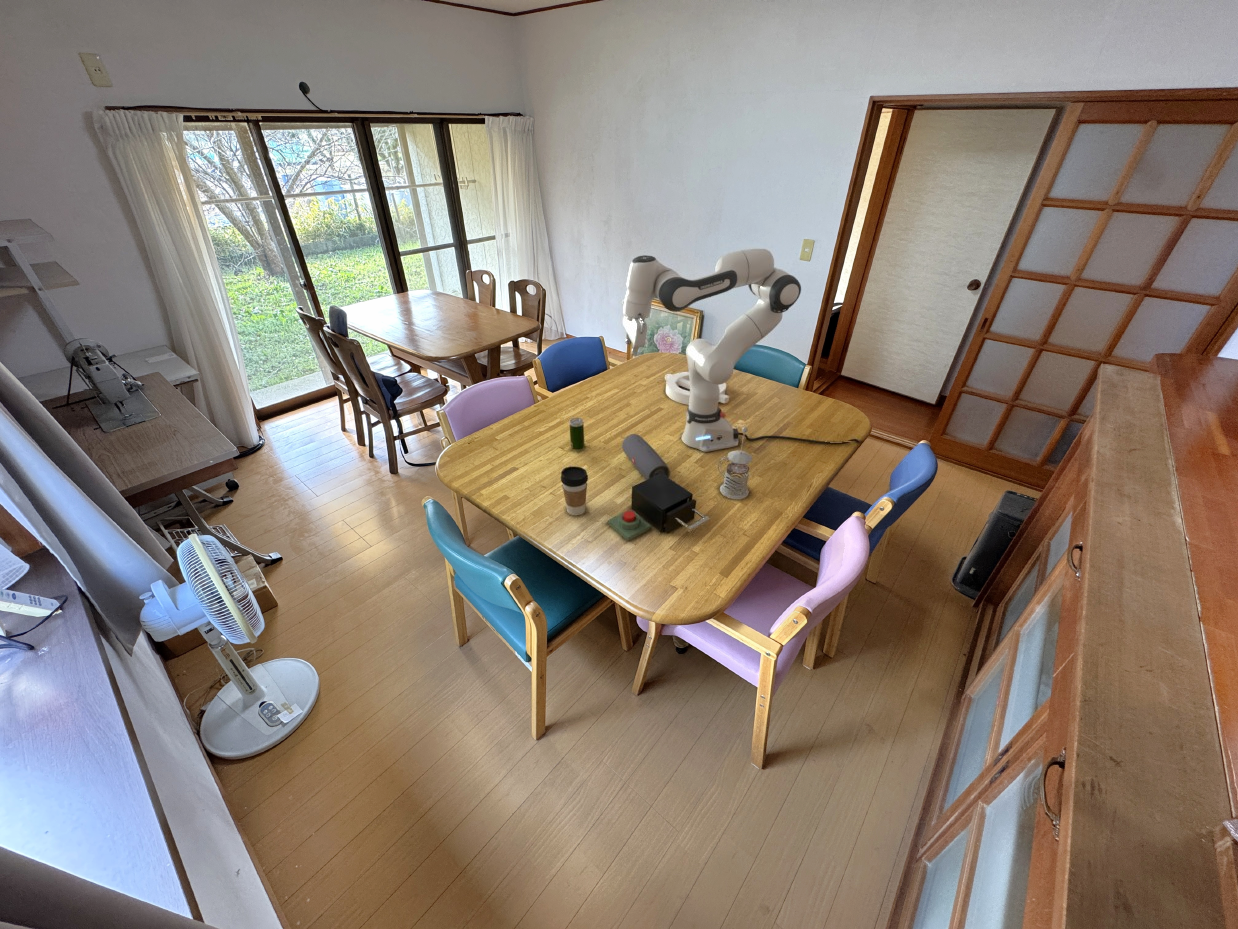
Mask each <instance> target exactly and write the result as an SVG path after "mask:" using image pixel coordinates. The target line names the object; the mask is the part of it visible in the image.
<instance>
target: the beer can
mask: <svg viewBox="0 0 1238 929" xmlns="http://www.w3.org/2000/svg"><path fill="white" fill-rule="evenodd" d="M568 426H569V441H570V448H571V451H575V452H580V451H583V450H584V448H585V425H584V420H583V419H582V418H581V417H573V418H570V419H569V425H568Z"/></svg>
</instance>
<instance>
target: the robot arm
mask: <svg viewBox="0 0 1238 929" xmlns="http://www.w3.org/2000/svg"><path fill="white" fill-rule="evenodd" d="M714 267H715V268H714V273H712V274H708V275H705V276H702V277H699V278H695V279H688V278H685V277H683V276H682V275H681V274H679V273H678V272H677V271H675V270H674V269H672V268H670V267H668V266H666V265H664V264H663V263H662V262H660V261H659V260H658V258H656V257H655V256H653V255H645V254H643V255H639V256H636V257H634V258H633V259H632V261H631V262H630V264H629V269H628V274H627V279H626V294H625V296H624V299H622V303H621V304H622V305H621V306H622V320H621V321H622V327H623V329H624V330H625V341H624V342H625V344H626V345H629V346H630V345H631V344H632V348H631V351H630V355H631V356H633V357H637V356H638V351H639V350H640V348H644V347H645V345H646V342H647V332H648V325H647V322H646V319H648V318H650V315H651V309H652V303H653V301H654V300H655V299H656V300H657V299H658V300H659V301H660V303H661V304H662V306H663V307H664V308H665V309H666V310H667V311H670V312H671V313H672V312H673V313H677V312H681V311H684V310H686V309H687V308H689V307H690V306H692V305H694V304H695V303H697V302H699V301H702V300H705V299H708V298H712V297H715V296H718V295H721V294H724V293H726V292H729V291H731V290H732V289H737V288H741V287H745V286H748V288H749V291H750V292H751V293H752V294H753V295H754V296H756V297H758V300H757V302H756V303H755V304H754V306H753V307H751V308H750V309H748V310H747V311H746V312H745V313H743V314H742V315H741V316H739V317H738V318H737V319H735V320H734V321H733V322H732V323H730V324H729V325H728V326H727V327H726V328H725V329H724V334H723V336H722V337H721V339H720V340H719V342H718V343H716V345H715V343H713V342H711V341H710V340H707V339H705V338H695V339H693V340H692V341H690V342H689V343H688V345H687V346H686V350H685V356H686V360H687V367H688V372H689V379H690V389H689V391H690V398H689V405H687V407H686V408H687V409H686V415H685V418H686V423H685V427H684V429H683V433H682V435H681V441H682V443H683V444H684V445H686V446H688V447H690V448H693V449H698V450H699V451H701V452H704V453H707V452H708V453H709V452H713V451H719V450H723V449H729V448H734V447H738V445H739V436H741V437H743V435H744V438H745V439H746V441H749V442H752V441H753V442H754V441H759V440H762V439H783V440H792V441H799V442H806V443H814V444H823V445H824V444H825V445H845V444H849V443H850V442H844V441H841V442H842V443H830V442H831V441H827V442H825V441H824V440H815V439H807V438H799V437H794V436H793V437H792V436H786V435H785V436H784V435H761V436H758V437H753V438H750V437H749V436H748V434H746V433H744V432H739V430H738V428H736V427H735V428H733V425H732V424H731V423H730V422H729V420H728V419H726V416H727V414H726V413H725V411H723V410H722V409H721V407H719V402H718V401H719V394H720V390H719V386H718V385H719V384H723V383H726V382H728V381H729V380H730V379H731V378H732V376H733V374H734V369H735V366H736V364H737V363H738V361H739V360H740V359H741V358H742V357H743V355H744V354H745V353H746V352H748V351H749V350H750V349H751V348H752V347H754V346H755V345H756V344H757V343H759V342H760V341H761V340H763V339H764V338H765V337H767V336H768V335H769V334H770V333H771V332H772V331H773V330H774V329H775V328H776V327H777V326H778V325H779V324H780V323H781V321H782V319H783V313H785V312H788V310H789V309H790V308H791V307H792V306H793V305H794V304H796V302H797V301H798V300H799V298H800V295H801V293H802V286H801V283H800V281H799V280H798V278H796V277H795V276H794V275H793V274H790V273H788V272H787V271H785V270H783V269H780V268H777V267H775V259H774V256H773V254H772V252H771V251H770V250H768V249H767V248H748V249H747V248H746V249H740V250H736V251H731V252H728V253H726V254H724V255H722V256H721V257H720V258H718V259H717V262H716V264H715V266H714ZM847 441H852V442H856V443H858V444H859V443H860V441H859V439H857V438H851V439H847Z"/></svg>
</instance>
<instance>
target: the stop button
mask: <svg viewBox="0 0 1238 929" xmlns="http://www.w3.org/2000/svg"><path fill="white" fill-rule="evenodd" d="M632 511H633V510H632ZM632 511H628V510H626V512H625V511H623V512H624V514H623V519H624V521H625V522H633V521H634V520H635V513H636V512H635V511H633V512H632ZM634 512H635V513H634Z"/></svg>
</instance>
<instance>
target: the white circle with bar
mask: <svg viewBox="0 0 1238 929" xmlns="http://www.w3.org/2000/svg"><path fill="white" fill-rule="evenodd" d="M664 380H665V381H666V382H665V394H666V395H667V397H668V398H669V399H671V400H672V401H674V402H676V403H679V404H683V405H686V406H689V398H690V379H689V371H680V372H677V373H674V374H672V373H670V372H669V373H667V374H665V375H664ZM718 386H719V390H720V394H719V401H718V403H721V404H723V405H724V404H726V403H729V400H730V396H729V395H727V394H726V390H727V383H726V382H725V383H723V384H719V385H718ZM681 387H683V388H681Z"/></svg>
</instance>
